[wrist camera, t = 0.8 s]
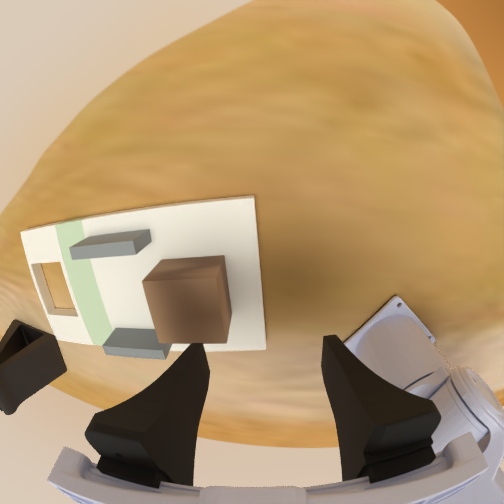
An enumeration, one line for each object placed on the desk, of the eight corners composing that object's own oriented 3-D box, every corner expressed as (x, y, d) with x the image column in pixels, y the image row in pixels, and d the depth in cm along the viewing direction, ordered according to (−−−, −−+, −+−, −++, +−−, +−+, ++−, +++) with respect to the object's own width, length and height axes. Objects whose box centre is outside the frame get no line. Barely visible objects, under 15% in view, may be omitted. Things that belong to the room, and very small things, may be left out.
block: (224, 255, 20) (216, 277, 16) (232, 313, 22) (226, 343, 18) (161, 259, 20) (141, 281, 17) (173, 314, 22) (159, 343, 18)
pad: (90, 216, 21) (81, 219, 20) (125, 339, 25) (119, 347, 24) (64, 220, 21) (55, 224, 20) (99, 337, 25) (93, 344, 24)
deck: (254, 195, 20) (252, 205, 16) (266, 339, 24) (266, 372, 20) (29, 228, 22) (1, 241, 17) (63, 333, 26) (43, 354, 21)
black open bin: (26, 350, 28) (-15, 398, 17) (14, 318, 26) (-35, 364, 15) (67, 369, 28) (26, 428, 17) (56, 336, 26) (3, 396, 15)
